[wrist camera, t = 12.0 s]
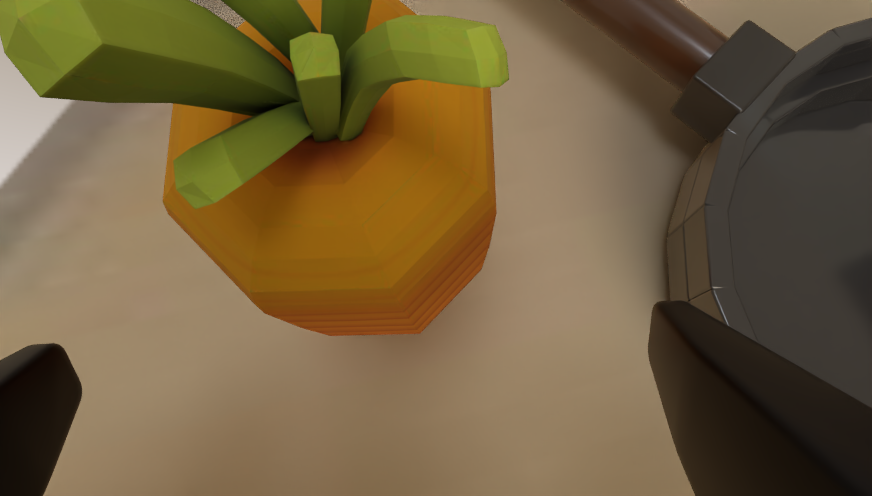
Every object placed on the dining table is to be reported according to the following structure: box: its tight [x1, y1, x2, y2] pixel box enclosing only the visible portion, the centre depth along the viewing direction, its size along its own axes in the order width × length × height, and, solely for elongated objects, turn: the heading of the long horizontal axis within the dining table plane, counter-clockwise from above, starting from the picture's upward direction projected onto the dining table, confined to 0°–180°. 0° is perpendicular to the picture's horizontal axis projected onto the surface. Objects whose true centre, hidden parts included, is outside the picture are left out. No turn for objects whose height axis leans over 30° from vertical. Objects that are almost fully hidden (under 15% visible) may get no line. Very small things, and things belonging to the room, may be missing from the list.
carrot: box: [0, 0, 509, 336], centre depth 11 cm, size 5×5×15 cm
